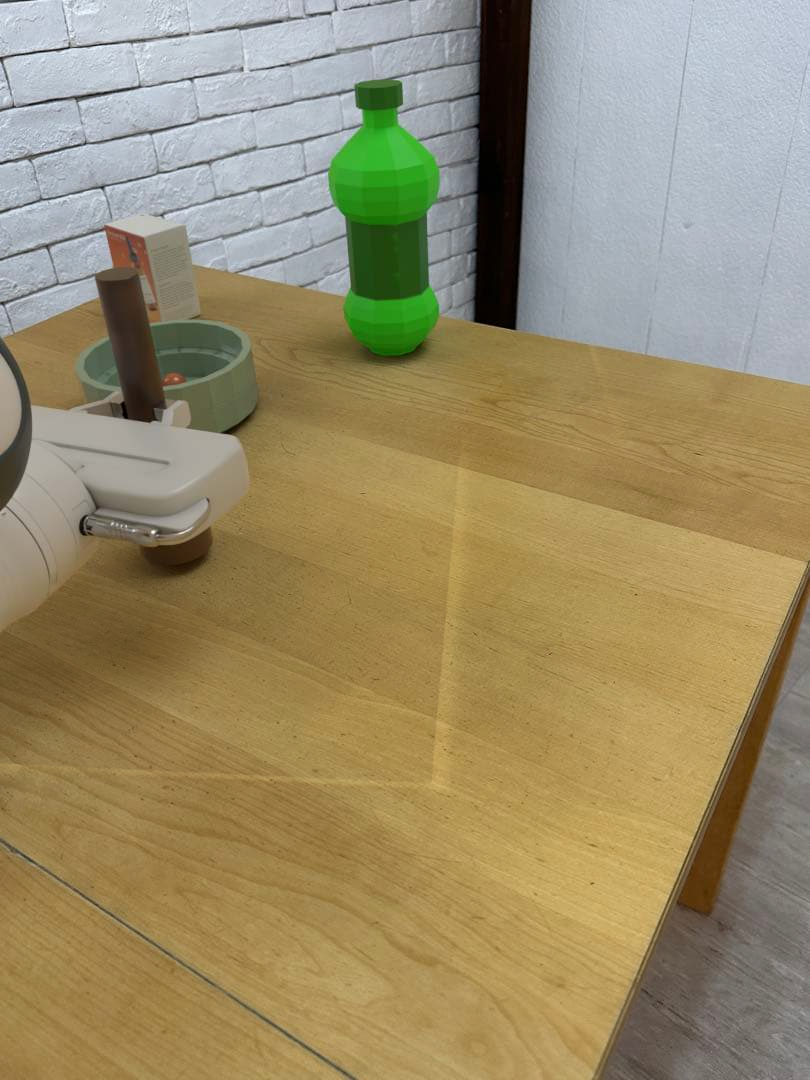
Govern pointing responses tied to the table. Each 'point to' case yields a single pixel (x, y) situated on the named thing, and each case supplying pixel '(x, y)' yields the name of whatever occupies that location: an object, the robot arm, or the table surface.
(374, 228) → the plastic bottle
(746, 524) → the table surface
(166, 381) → the bead
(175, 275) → the small box
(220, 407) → the bowl
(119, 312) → the pestle
